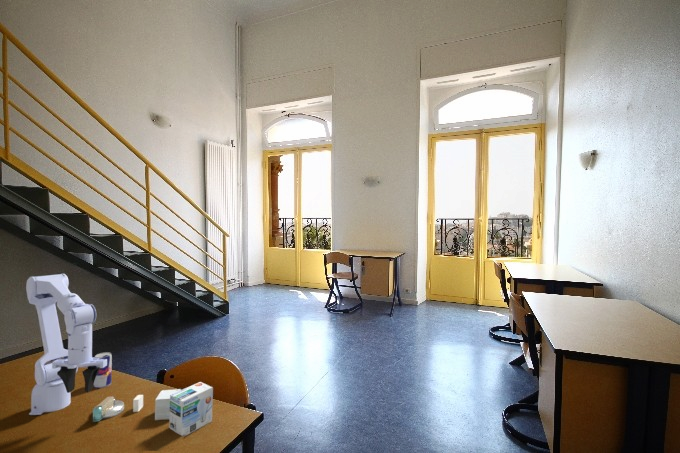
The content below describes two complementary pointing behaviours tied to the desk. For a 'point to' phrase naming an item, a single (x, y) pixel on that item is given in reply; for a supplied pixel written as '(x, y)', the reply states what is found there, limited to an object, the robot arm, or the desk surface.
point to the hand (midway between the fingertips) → (79, 390)
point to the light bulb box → (191, 408)
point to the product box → (163, 404)
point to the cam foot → (107, 409)
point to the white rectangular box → (138, 403)
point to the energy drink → (104, 371)
